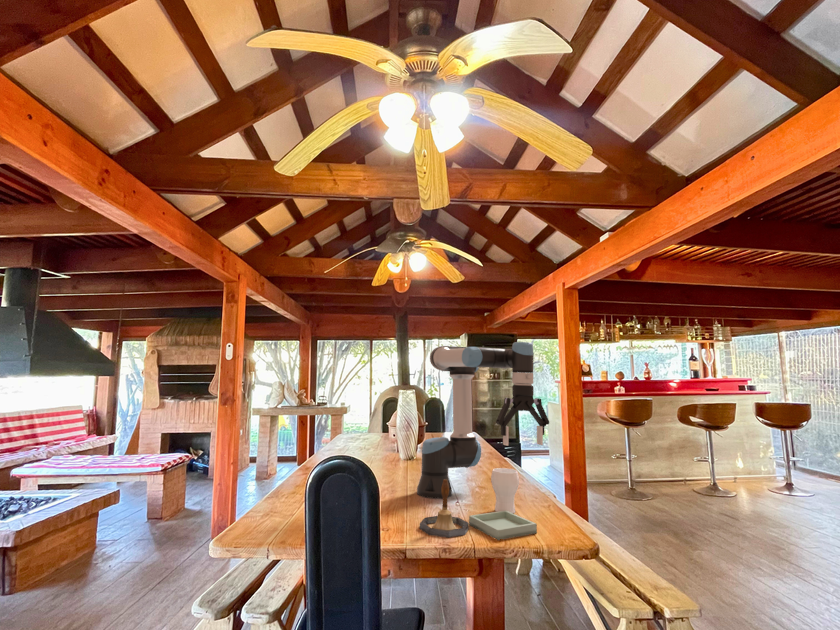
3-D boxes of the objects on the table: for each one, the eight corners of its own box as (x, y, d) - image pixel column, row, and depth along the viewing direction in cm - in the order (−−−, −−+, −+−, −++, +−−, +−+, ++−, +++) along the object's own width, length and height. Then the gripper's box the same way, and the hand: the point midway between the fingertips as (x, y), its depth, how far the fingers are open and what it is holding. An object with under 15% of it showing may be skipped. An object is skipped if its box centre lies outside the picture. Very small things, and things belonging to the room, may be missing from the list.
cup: (519, 516, 164) (519, 474, 166) (490, 513, 166) (490, 472, 168) (518, 508, 174) (518, 468, 177) (491, 506, 177) (491, 466, 179)
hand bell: (461, 529, 149) (462, 479, 151) (445, 535, 143) (446, 483, 145) (442, 523, 154) (443, 475, 157) (426, 528, 148) (427, 479, 151)
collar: (413, 524, 152) (413, 519, 152) (451, 519, 159) (451, 513, 159) (435, 539, 138) (435, 533, 139) (476, 532, 145) (476, 527, 146)
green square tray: (469, 524, 153) (469, 515, 154) (505, 519, 161) (505, 510, 161) (497, 540, 139) (497, 530, 140) (536, 533, 147) (536, 523, 147)
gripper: (496, 384, 154) (495, 447, 151) (558, 385, 161) (559, 445, 158) (486, 383, 161) (486, 443, 158) (547, 385, 168) (547, 442, 165)
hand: (522, 444), depth 158 cm, fingers open, 13 cm apart
